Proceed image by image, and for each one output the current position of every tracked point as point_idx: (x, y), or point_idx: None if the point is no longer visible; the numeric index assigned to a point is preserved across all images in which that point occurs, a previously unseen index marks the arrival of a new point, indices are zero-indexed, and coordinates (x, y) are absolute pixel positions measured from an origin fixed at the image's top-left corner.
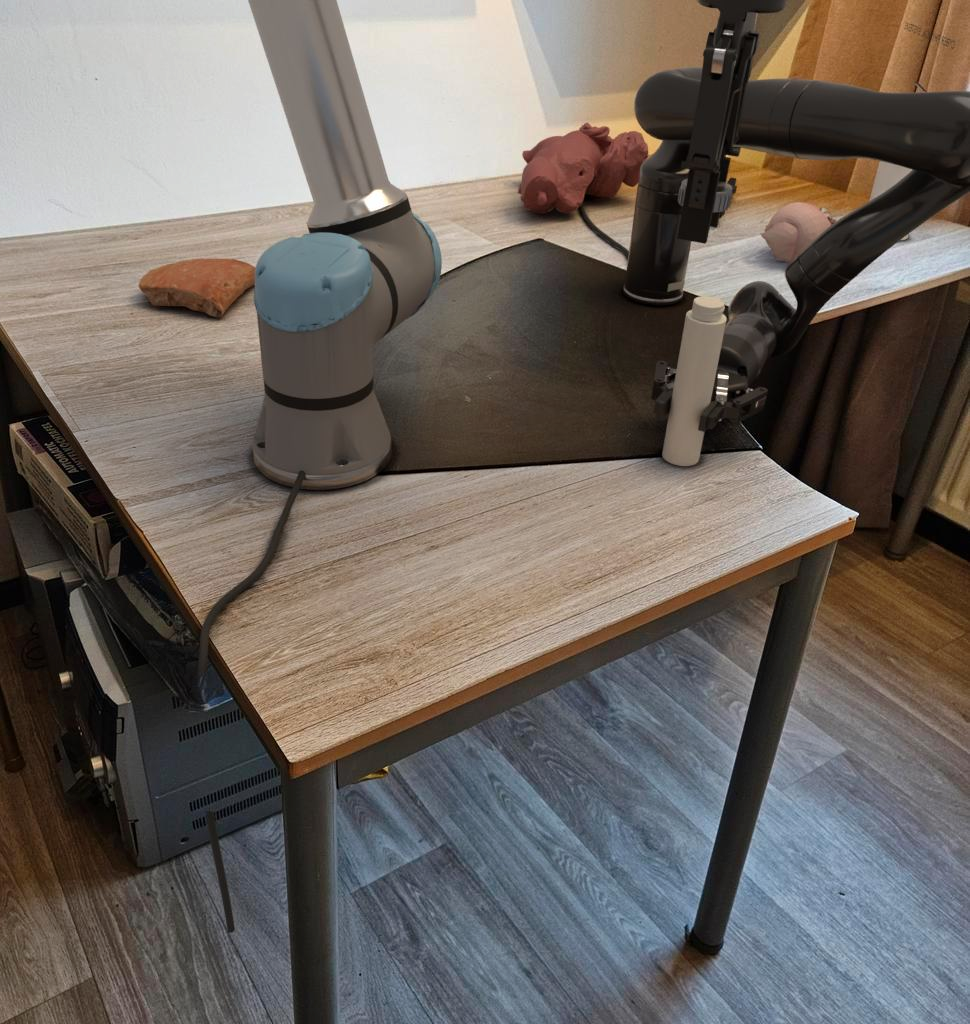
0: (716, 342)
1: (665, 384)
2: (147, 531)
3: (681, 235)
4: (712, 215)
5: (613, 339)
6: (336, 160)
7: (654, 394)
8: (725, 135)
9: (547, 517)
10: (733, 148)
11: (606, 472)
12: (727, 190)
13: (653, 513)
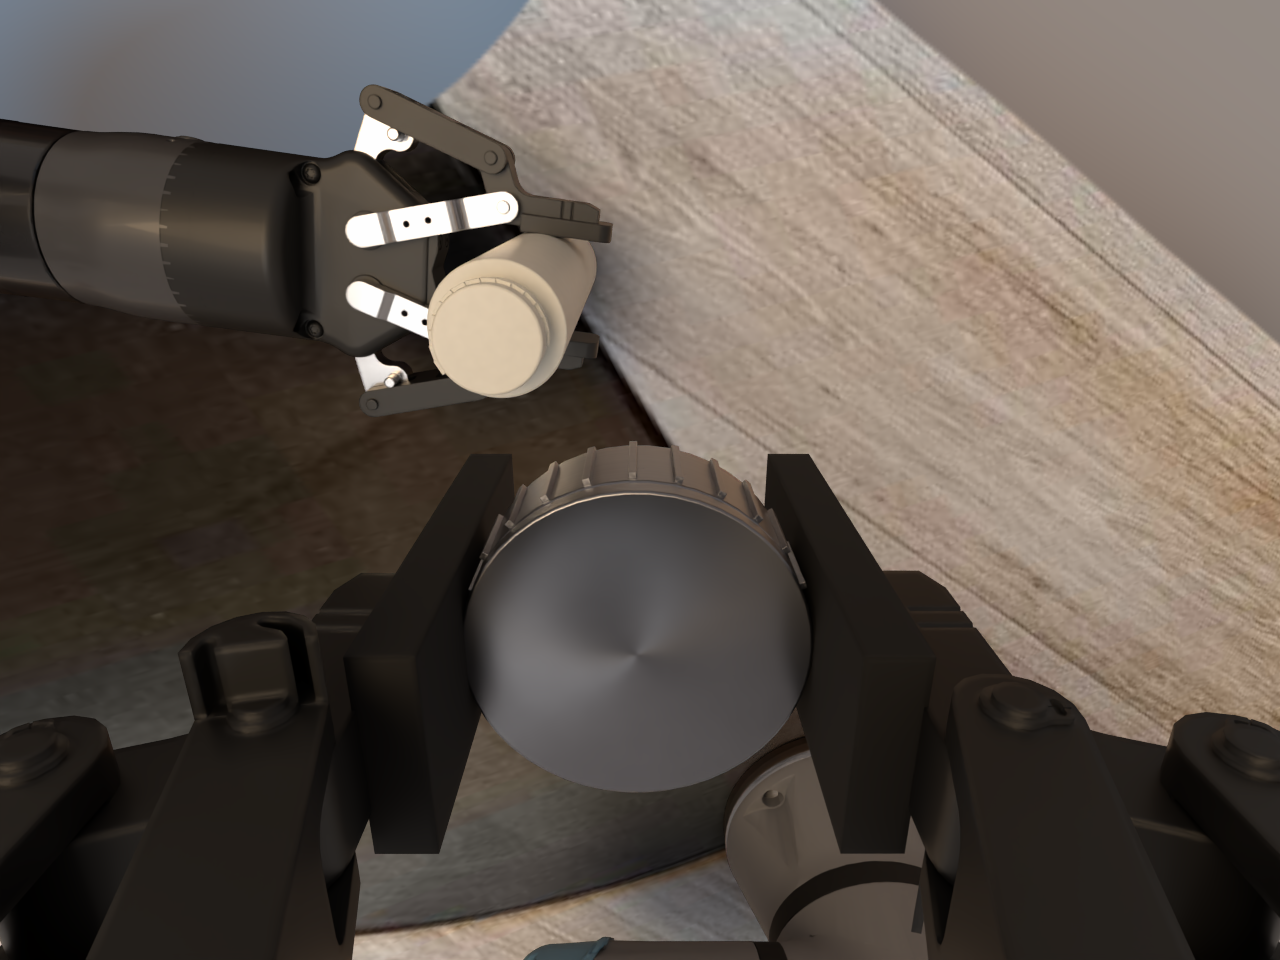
0: (543, 264)
1: None
2: None
3: None
4: (502, 506)
5: (79, 546)
6: None
7: None
8: (1008, 939)
9: (892, 450)
10: (252, 702)
11: (690, 396)
12: (698, 513)
13: (806, 267)
